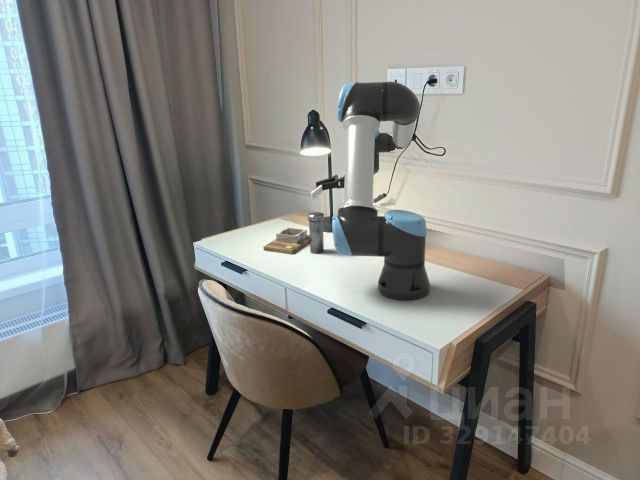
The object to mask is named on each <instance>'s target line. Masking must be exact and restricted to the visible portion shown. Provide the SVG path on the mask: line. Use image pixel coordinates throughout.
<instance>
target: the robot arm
mask: <svg viewBox="0 0 640 480" xmlns="http://www.w3.org/2000/svg"><path fill="white" fill-rule="evenodd" d="M418 98H419V97H417V95H416V94H415V93H414V92H413V91H412V90H411V89H410V88H409V87H408V86H406V85H404V84H402V83H400V82H396V81H379V82H378V81H375V82H374V81H373V82H371V81H370V82H358V81H356V82H350V83H345V84H344V85H343V86H342V87H341V89H340V92H339V95H338V103H337V119H338V121H339V122H340V123H341V125H342V128H343V129H344V130H345V131H346V138H345V139H346V144H345V161H344V163H345V167H344V175H343V176H342V177H338V174H335V175H333V176H331V177H328V178H324V179H322V180H319V181H316V182H315V188H314V189H313V190H312V191H311V192H310V199H311V200H314V199H316V198H317V197H318V196H320V195H321V194H322V193H323V191H326V190H333V189H337V190H338V189H343V200H342V202H341V206H340V207H339V208H338V209H337V214H335V215H333V216H332V218H331V221H332V222H331V225H332V226H331V227H332V229H331V230H332V238H333V243H334V248H335V251H336V253H337V254H338V255H339V256H348V257H379V258H380V257H382V258H383V259H384V260H383V267H382V269H381V272H380V275H379V278H378V280H377V290H378V292H379V293H380V295H383V296H385V297H387V298H390V299H393V300H399V301H400V300H401V301H413V300H418V299H422V298H424V297H426V296H427V295H428V294H430V291H431V290H430V288H431V287H430V286H431V283H430V282H431V281H430V279H429V276H428V273H427V270H426V266H425V264H426V263H425V262H426V238H427V235H428V233H427V222H426V219H425V218H424V217H423V216H422V215H421V214H419V213H416V212H413V211H409V210H403V209H393V210H392V209H389V210H387V211H385V213H384V216H381V215H380V216H379V214H378V213H379V212H378V209H377V208H376V207H375V205H373V203H374V178H375V177H374V176H375V174H377V173H379V171H380V170H379V154H380V153H391V152H390V151H393V150H395V148H397V149H403V148H405V147H407V146H408V145H409V143H410V142H411V140H412V137H413V134H414V133H415V125H416V121H417V120H418V118H419V117H420V113H421V112H420V110H421V106H420V105H421V104H420V101H419V99H418ZM381 122H392V133H393V137H392V136H390V135H389V134H387V133H388V132H380V128H381ZM378 170H379V171H378Z"/></svg>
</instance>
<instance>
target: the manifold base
mask: <svg viewBox="0 0 640 480" xmlns="http://www.w3.org/2000/svg"><path fill="white" fill-rule="evenodd" d="M307 231H308V230H307V229H302V228H293V227H285V228H284V229H283V230H280V231H279V232H277V233H276V234H275V235H276V236H275V238H276V239H275V238H274V240H272V241H270V242H269V243H267V244H266V245H264V246H263V251H265V252H266V251H267V252H274V253H279V254H280V253H281V254H288V255H294V254H295V253H296V252H298V251H300V250H301V249H302V248H303V247H305V246H307V245H308V244H310V234H308V233H307Z"/></svg>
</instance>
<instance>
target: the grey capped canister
mask: <svg viewBox="0 0 640 480" xmlns="http://www.w3.org/2000/svg"><path fill="white" fill-rule="evenodd" d="M307 220H308V227H309V228H308V229H309V230H308V231H309V233H308V235H310V242H309V252H310V253H311V254H312V255H313V254H314V255H318V254H319V255H320V254H322V253H324V252H325V247H324V245H325V244H324V239H325V238H324V220H325V214H324V213H323V212H319V211H314V212H309V213H307Z"/></svg>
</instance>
